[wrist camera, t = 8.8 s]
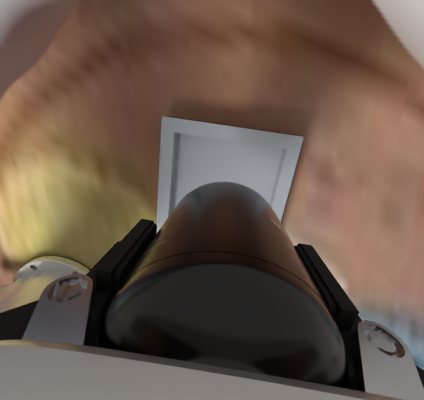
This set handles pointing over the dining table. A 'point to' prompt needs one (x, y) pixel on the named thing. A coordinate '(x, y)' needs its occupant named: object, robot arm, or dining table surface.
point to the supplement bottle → (226, 294)
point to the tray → (223, 161)
